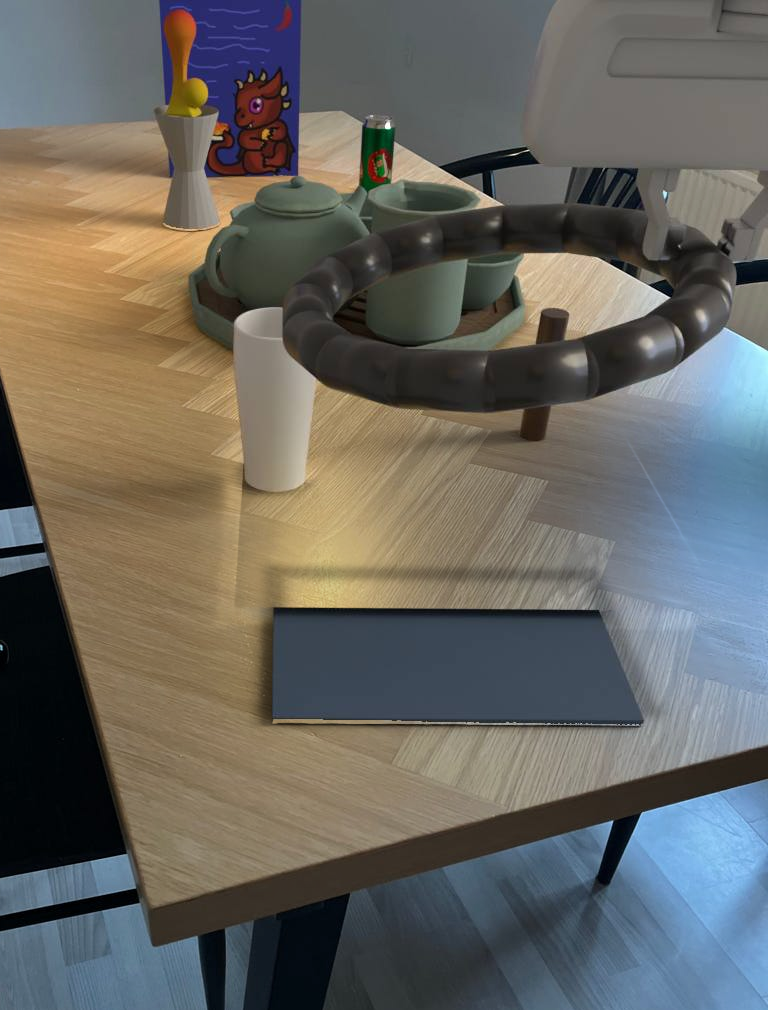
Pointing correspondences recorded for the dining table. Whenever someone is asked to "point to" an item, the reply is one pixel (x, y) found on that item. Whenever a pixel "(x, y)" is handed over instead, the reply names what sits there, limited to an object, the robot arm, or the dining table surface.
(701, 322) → the dark segmented ring
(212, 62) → the cereal box
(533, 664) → the felt mat
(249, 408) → the drinking glass
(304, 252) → the tea set
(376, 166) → the soda can
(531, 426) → the stand
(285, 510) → the dining table surface
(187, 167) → the lava lamp
